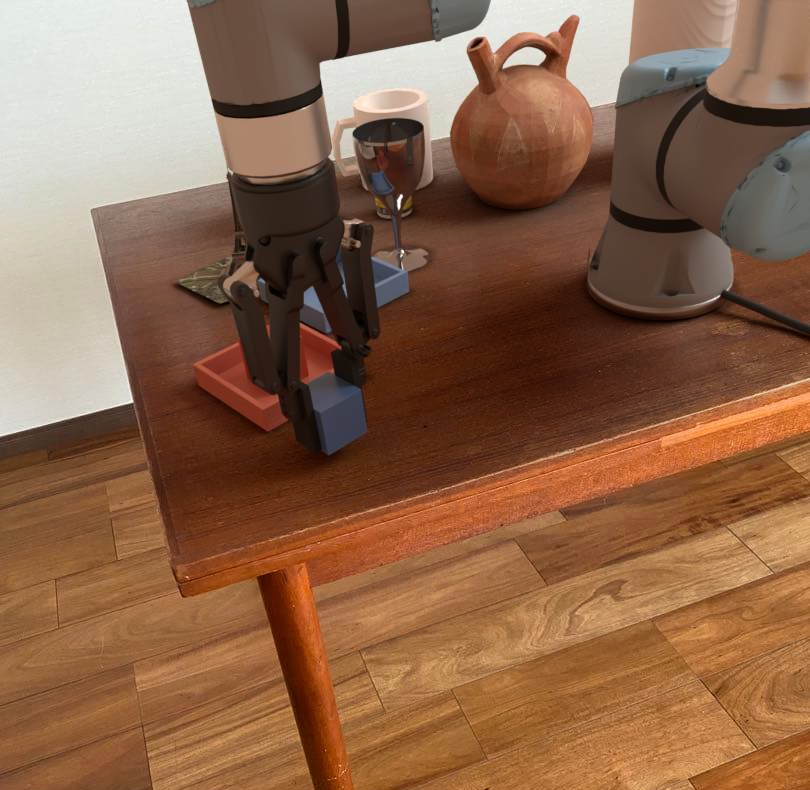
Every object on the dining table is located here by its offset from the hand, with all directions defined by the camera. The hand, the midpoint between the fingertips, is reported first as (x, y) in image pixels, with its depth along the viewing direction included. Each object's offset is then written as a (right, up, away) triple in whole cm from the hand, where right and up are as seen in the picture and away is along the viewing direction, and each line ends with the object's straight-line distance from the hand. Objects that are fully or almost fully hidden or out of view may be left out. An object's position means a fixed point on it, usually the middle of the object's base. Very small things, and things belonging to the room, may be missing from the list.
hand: (332, 431), depth 78 cm
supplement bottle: (+5, +34, +39) cm, 52 cm away
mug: (+4, +41, +48) cm, 64 cm away
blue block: (0, 0, 0) cm, 0 cm away
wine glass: (+6, +24, +29) cm, 38 cm away
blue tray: (-2, +18, +23) cm, 30 cm away
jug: (+22, +37, +41) cm, 60 cm away
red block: (-6, +7, +10) cm, 14 cm away
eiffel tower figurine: (-13, +23, +30) cm, 39 cm away
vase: (+44, +43, +44) cm, 75 cm away
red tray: (-6, +6, +11) cm, 14 cm away
